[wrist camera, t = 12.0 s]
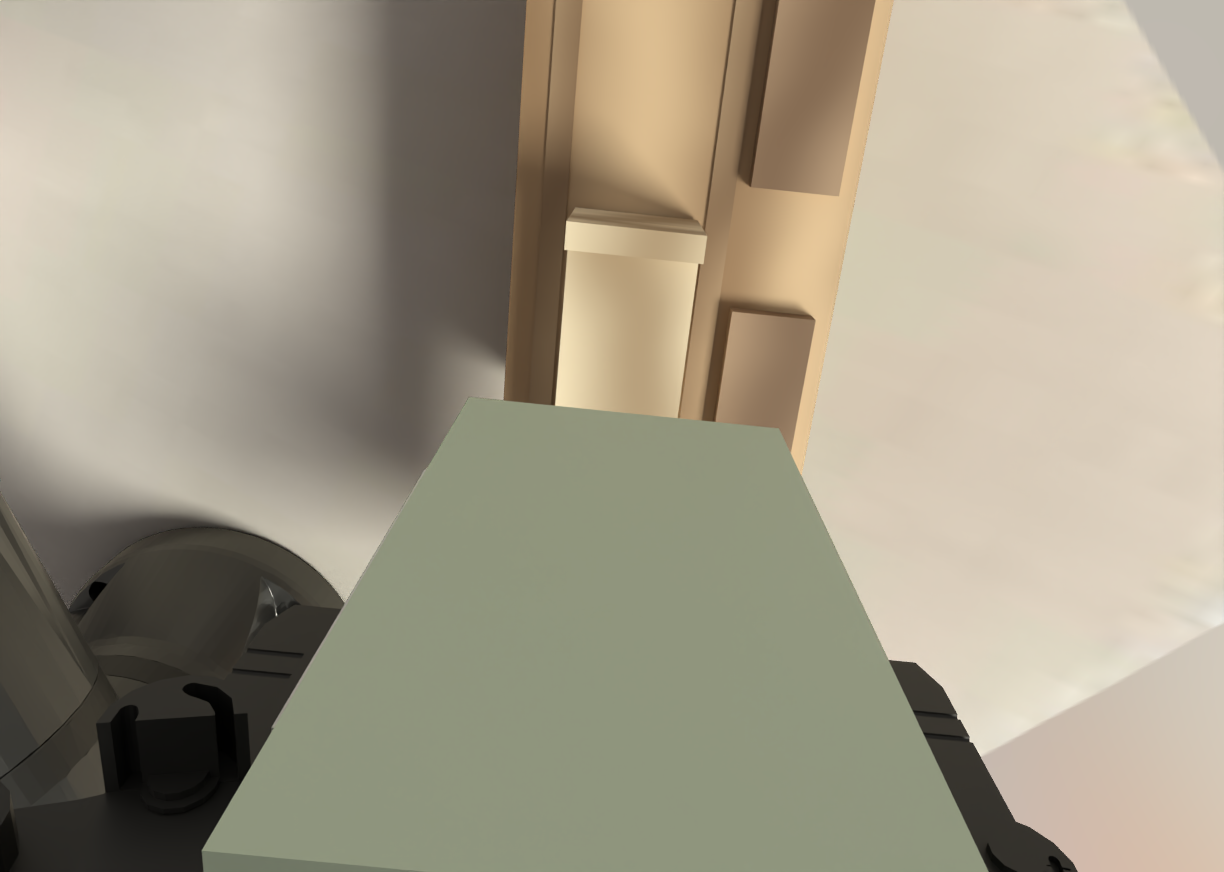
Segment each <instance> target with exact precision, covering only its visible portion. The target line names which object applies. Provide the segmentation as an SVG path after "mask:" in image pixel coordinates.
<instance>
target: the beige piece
mask: <svg viewBox="0 0 1224 872" xmlns="http://www.w3.org/2000/svg"><path fill="white" fill-rule="evenodd" d="M706 242H707V235H706V233H705V231H704V230H703V228H702V227H701V225H700V223H699V222H698V220H692V219H682V218H673V217H663V216H654V215H644V214H635V213H625V212H616V211H606V210H597V209H587V208H578V207H575V209H574V210H573V212H572V213H571V215H570V217H569V218H568V220H567V221H566V233H565V246H564V250H568V252H567V264H566V277H565V289H564V301H563V314H562V326H561V339H560V351H559V364H558V376H557V389H556V401H555V406H563V407H573V408H582V409H592V410H602V411H612V412H622V413H632V414H641V415H651V416H661V417H671V418H678V411H679V404H680V396H681V389H682V381H683V374H684V367H685V359H686V352H687V344H688V337H689V329H690V322H691V314H692V307H693V300H694V292H695V285H696V277H697V270H698V264H704V256H705V249H706Z"/></svg>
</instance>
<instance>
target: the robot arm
mask: <svg viewBox="0 0 1224 872" xmlns="http://www.w3.org/2000/svg"><path fill="white" fill-rule="evenodd" d="M425 471H426V468H425V469H424V471H423V473H422V475H421V476H420V478H419V480H418V481H417V483H416V485H415V486H414V488H413V490H412V491H411V493H410V495H409V496H408V498H407V500H406V501H405V503H404V505H403V507H402V508H401V510H400V512H399V513H398V515H397V517H396V518H395V520H394V522H393V523H392V525H391V527H390V528H389V530H388V532H387V533H386V535H385V537H384V539H383V540H382V542H381V544H380V545H379V547H378V549H377V550H376V552H375V554H374V555H373V557H372V559H371V560H370V562H369V564H368V565H367V567H366V569H365V571H364V572H363V574H362V576H361V577H360V579H359V581H358V582H357V584H356V586H355V587H354V589H353V591H352V592H351V594H350V596H349V597H348V599H347V601H346V603H345V604H344V602H343V601H342V599H341V598H340V597H339V595H338V594H337V593H336V592H335V590H334V589H333V588H332V587H331V586H330V585H329V583H328V582H327V581H326V580H325V579H324V578H323V577H322V576H321V575H320V574H318V573H317V572H316V571H315V570H314V569H313V568H311V567H310V566H309V565H308V564H306V563H305V562H304V561H302V560H301V559H299V558H298V557H296V556H295V555H293V554H292V553H290V552H288V551H286V550H284V549H283V548H281V547H279V546H277V545H275V544H272V543H270V542H268V541H265V540H263V539H260V538H257V537H254V536H251V535H248V534H244V533H241V532H236V531H231V530H226V529H218V528H182V529H175V530H170V531H165V532H162V533H158V534H155V535H152V536H149V537H147V538H144V539H142V540H140V541H138V542H136V543H134V544H133V545H131V546H129V547H128V548H126V549H125V550H123V551H122V552H121V553H119V554H118V555H117V556H116V557H115V558H113V559H112V560H111V561H110V562H109V563H108V564H106V565H105V566H104V567H103V568H102V569H101V570H99V571H98V572H97V573H96V574H95V575H94V576H93V577H92V578H91V579H90V580H89V581H88V582H87V583H86V584H85V585H84V587H83V588H82V589H81V590H80V592H79V593H78V594H77V596H76V597H75V599H74V600H73V602H72V604H71V606H70V608H69V610H68V609H67V607H66V605H65V603H64V602H63V600H62V598H61V596H60V595H59V593H58V591H57V589H56V588H55V586H54V584H53V582H52V581H51V579H50V577H49V575H48V574H47V572H46V570H45V569H44V567H43V565H42V563H41V562H40V560H39V558H38V556H37V555H36V553H35V551H34V549H33V548H32V546H31V544H30V542H29V541H28V539H27V537H26V535H25V534H24V532H23V530H22V529H21V527H20V525H19V523H18V522H17V520H16V518H15V516H14V515H13V513H12V511H11V509H10V508H9V506H8V504H7V502H6V501H5V499H4V497H3V495H2V494H1V492H0V872H204V871H203V860H202V849H203V847H204V846H205V844H206V842H207V841H208V839H209V837H210V836H211V834H212V832H213V830H214V829H215V827H216V825H217V824H218V822H219V820H220V819H221V817H222V815H223V814H224V812H225V810H226V808H227V807H228V805H229V803H230V802H231V800H232V798H233V797H234V795H235V793H236V791H237V790H238V788H239V786H240V785H241V783H242V781H243V780H244V778H245V776H246V774H247V773H248V771H249V769H250V768H251V766H252V764H253V763H254V761H255V759H256V758H257V756H258V754H259V752H260V751H261V749H262V747H263V746H264V744H265V742H266V741H267V739H268V737H269V735H270V734H271V732H272V730H273V729H274V727H275V725H276V724H277V722H278V720H279V719H280V717H281V715H282V713H283V712H284V710H285V708H286V707H287V705H288V703H289V702H290V700H291V698H292V696H293V695H294V693H295V691H296V690H297V688H298V686H299V685H300V683H301V681H302V680H303V678H304V676H305V674H306V673H307V671H308V669H309V668H310V666H311V664H312V663H313V661H314V659H315V657H316V656H317V654H318V652H319V651H320V649H321V647H322V646H323V644H324V642H325V641H326V639H327V637H328V635H329V634H330V632H331V630H332V629H333V627H334V625H335V624H336V622H337V620H338V618H339V617H340V615H341V613H342V612H343V610H344V608H345V607H346V605H347V603H348V601H349V600H350V598H351V596H352V595H353V593H354V591H355V590H356V588H357V586H358V585H359V583H360V581H361V579H362V578H363V576H364V574H365V573H366V571H367V569H368V568H369V566H370V564H371V562H372V561H373V559H374V557H375V556H376V554H377V552H378V551H379V549H380V547H381V546H382V544H383V542H384V540H385V539H386V537H387V535H388V534H389V532H390V530H391V529H392V527H393V525H394V523H395V522H396V520H397V518H398V517H399V515H400V513H401V512H402V510H403V508H404V507H405V505H406V503H407V501H408V500H409V498H410V496H411V495H412V493H413V491H414V490H415V488H416V486H417V484H418V483H419V481H420V479H421V478H422V476H423V474H424V473H425ZM0 481H1V480H0ZM889 662H890V664H891V667H892V669H893V671H894V673H895V675H896V677H897V679H898V681H899V683H900V686H901V688H902V690H903V692H904V694H905V696H906V698H907V700H908V702H909V705H910V707H911V709H912V711H913V713H914V715H915V717H916V719H917V722H918V724H919V726H920V728H921V730H922V732H923V734H924V736H925V738H926V741H927V743H928V745H929V747H930V749H931V751H932V753H933V755H934V757H935V760H936V762H937V764H938V766H939V768H940V770H941V772H942V774H943V776H944V779H945V781H946V783H947V785H948V787H949V789H950V791H951V793H952V796H953V798H954V800H955V802H956V804H957V806H958V808H959V810H960V812H961V815H962V817H963V819H964V821H965V823H966V825H967V827H968V829H969V831H970V834H971V836H972V838H973V840H974V842H975V844H976V846H977V848H978V851H979V853H980V855H981V857H982V859H983V861H984V863H985V865H986V867H987V870H988V872H1077V870H1076V868H1075V866H1074V864H1073V862H1071V860H1070V859H1069V858H1068V857H1067V856H1066V855H1065V854H1064V853H1063V852H1062V851H1061V850H1060V849H1059V848H1058V847H1057V846H1056V845H1055V844H1054V843H1053V842H1051V841H1050V840H1048V839H1047V838H1045V837H1043V836H1042V835H1040V834H1039V833H1038V832H1036V831H1034V830H1033V829H1031V828H1030V827H1028V826H1025V825H1023V824H1020V823H1018V822H1016V821H1015V820H1014V818H1013V816H1012V814H1011V812H1010V810H1009V809H1008V807H1007V805H1006V803H1005V801H1004V799H1003V798H1002V796H1001V794H1000V792H999V790H998V788H997V787H996V785H995V783H994V781H993V779H992V777H991V776H990V774H989V772H988V770H987V768H986V766H985V764H984V763H983V761H982V759H981V757H980V755H979V753H978V752H977V750H976V748H975V746H974V744H973V743H971V742H969V735H968V733H967V731H966V730H965V728H964V726H963V724H962V722H961V720H957V713H956V711H955V709H954V707H953V706H952V704H951V702H950V700H949V698H948V696H947V695H946V693H945V691H944V689H943V687H942V686H940V685H939V684H938V683H937V682H936V681H935V680H934V679H933V678H932V677H930V676H929V675H928V674H927V673H926V672H925V671H924V670H923V669H922V668H921V667H919V666H918V665H917V664H916V663H912V662H902V661H892V660H889Z"/></svg>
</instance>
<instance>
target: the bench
mask: <svg viewBox="0 0 1224 872" xmlns="http://www.w3.org/2000/svg"><path fill="white" fill-rule="evenodd" d="M893 1H894V0H527V2H526V19H525V37H524V54H523V72H522V89H521V106H520V124H519V141H518V159H517V176H516V194H515V211H514V228H513V246H512V263H511V281H510V298H509V316H508V333H507V350H506V368H505V385H504V401H513V402H523V403H533V404H543V405H553V406H555V401H556V389H557V376H558V364H559V351H560V339H561V326H562V314H563V301H564V289H565V277H566V264H567V252H568V250H564V246H565V233H566V221H567V220H568V218H569V217H570V215H571V213H572V212H573V210H574V209H575V207H578V208H587V209H597V210H606V211H616V212H625V213H635V214H644V215H654V216H663V217H673V218H682V219H692V220H698V222H699V223H700V225H701V227H702V228H703V230H704V231H705V233H706V235H707V242H706V249H705V256H704V264H698V270H697V277H696V285H695V292H694V300H693V307H692V314H691V322H690V329H689V337H688V344H687V352H686V359H685V367H684V374H683V381H682V389H681V396H680V404H679V411H678V418H681V419H691V420H700V421H710V422H720V423H730V424H740V425H750V426H760V427H769V428H779V430H780V432H781V434H782V436H783V438H784V440H785V442H786V444H787V447H788V449H789V451H790V453H791V455H792V457H793V459H794V461H795V464H796V466H797V468H798V470H799V472H800V474H801V475H802V470H803V465H804V460H805V455H806V449H807V444H808V439H809V434H810V429H811V424H812V418H813V413H814V408H815V403H816V398H817V393H818V387H819V382H820V377H821V372H822V367H823V362H824V357H825V351H826V346H827V341H828V336H829V331H830V326H831V320H832V315H833V310H834V305H835V300H836V295H837V289H838V284H839V279H840V274H841V269H842V264H843V259H844V253H845V248H846V243H847V238H848V233H849V228H850V222H851V217H852V212H853V207H854V202H855V197H856V191H857V186H858V181H859V176H860V171H861V166H862V161H863V155H864V150H865V145H866V140H867V135H868V130H869V124H870V119H871V114H872V109H873V104H874V99H875V93H876V88H877V83H878V78H879V73H880V68H881V63H882V57H883V52H884V47H885V42H886V37H887V32H888V26H889V21H890V16H891V11H892V6H893Z"/></svg>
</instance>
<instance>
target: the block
mask: <svg viewBox="0 0 1224 872" xmlns="http://www.w3.org/2000/svg"><path fill="white" fill-rule="evenodd" d="M202 860H203V871H204V872H988V870H987V867H986V865H985V863H984V861H983V859H982V857H981V855H980V853H979V851H978V848H977V846H976V844H975V842H974V840H973V838H972V836H971V834H970V831H969V829H968V827H967V825H966V823H965V821H964V819H963V817H962V815H961V812H960V810H959V808H958V806H957V804H956V802H955V800H954V798H953V796H952V793H951V791H950V789H949V787H948V785H947V783H946V781H945V779H944V776H943V774H942V772H941V770H940V768H939V766H938V764H937V762H936V760H935V757H934V755H933V753H932V751H931V749H930V747H929V745H928V743H927V741H926V738H925V736H924V734H923V732H922V730H921V728H920V726H919V724H918V722H917V719H916V717H915V715H914V713H913V711H912V709H911V707H910V705H909V702H908V700H907V698H906V696H905V694H904V692H903V690H902V688H901V686H900V683H899V681H898V679H897V677H896V675H895V673H894V671H893V669H892V667H891V664H890V662H889V660H888V658H887V656H886V654H885V652H884V650H883V647H882V645H881V643H880V641H879V639H878V637H877V635H876V633H875V631H874V628H873V626H872V624H871V622H870V620H869V618H868V616H867V614H866V612H865V609H864V607H863V605H862V603H861V601H860V599H859V597H858V595H857V593H856V590H855V588H854V586H853V584H852V582H851V580H850V578H849V576H848V573H847V571H846V569H845V567H844V565H843V563H842V561H841V559H840V557H839V554H838V552H837V550H836V548H835V546H834V544H833V542H832V540H831V538H830V535H829V533H828V531H827V529H826V527H825V525H824V523H823V521H822V519H821V516H820V514H819V512H818V510H817V508H816V506H815V504H814V502H813V499H812V497H811V495H810V493H809V491H808V489H807V487H806V485H805V483H804V480H803V478H802V476H801V474H800V472H799V470H798V468H797V466H796V464H795V461H794V459H793V457H792V455H791V453H790V451H789V449H788V447H787V444H786V442H785V440H784V438H783V436H782V434H781V432H780V430H779V428H769V427H760V426H750V425H740V424H730V423H720V422H710V421H700V420H691V419H681V418H671V417H661V416H651V415H641V414H632V413H622V412H612V411H602V410H592V409H582V408H573V407H563V406H553V405H543V404H533V403H523V402H513V401H504V400H494V399H484V398H474V397H469V398H468V400H467V401H466V403H465V405H464V406H463V408H462V410H461V412H460V413H459V415H458V417H457V418H456V420H455V422H454V423H453V425H452V427H451V429H450V430H449V432H448V434H447V435H446V437H445V439H444V440H443V442H442V444H441V445H440V447H439V449H438V451H437V452H436V454H435V456H434V457H433V459H432V461H431V462H430V464H429V466H428V468H427V469H426V471H425V473H424V474H423V476H422V478H421V479H420V481H419V483H418V484H417V486H416V488H415V490H414V491H413V493H412V495H411V496H410V498H409V500H408V501H407V503H406V505H405V507H404V508H403V510H402V512H401V513H400V515H399V517H398V518H397V520H396V522H395V523H394V525H393V527H392V529H391V530H390V532H389V534H388V535H387V537H386V539H385V540H384V542H383V544H382V546H381V547H380V549H379V551H378V552H377V554H376V556H375V557H374V559H373V561H372V562H371V564H370V566H369V568H368V569H367V571H366V573H365V574H364V576H363V578H362V579H361V581H360V583H359V585H358V586H357V588H356V590H355V591H354V593H353V595H352V596H351V598H350V600H349V601H348V603H347V605H346V607H345V608H344V610H343V612H342V613H341V615H340V617H339V618H338V620H337V622H336V624H335V625H334V627H333V629H332V630H331V632H330V634H329V635H328V637H327V639H326V641H325V642H324V644H323V646H322V647H321V649H320V651H319V652H318V654H317V656H316V657H315V659H314V661H313V663H312V664H311V666H310V668H309V669H308V671H307V673H306V674H305V676H304V678H303V680H302V681H301V683H300V685H299V686H298V688H297V690H296V691H295V693H294V695H293V696H292V698H291V700H290V702H289V703H288V705H287V707H286V708H285V710H284V712H283V713H282V715H281V717H280V719H279V720H278V722H277V724H276V725H275V727H274V729H273V730H272V732H271V734H270V735H269V737H268V739H267V741H266V742H265V744H264V746H263V747H262V749H261V751H260V752H259V754H258V756H257V758H256V759H255V761H254V763H253V764H252V766H251V768H250V769H249V771H248V773H247V774H246V776H245V778H244V780H243V781H242V783H241V785H240V786H239V788H238V790H237V791H236V793H235V795H234V797H233V798H232V800H231V802H230V803H229V805H228V807H227V808H226V810H225V812H224V814H223V815H222V817H221V819H220V820H219V822H218V824H217V825H216V827H215V829H214V830H213V832H212V834H211V836H210V837H209V839H208V841H207V842H206V844H205V846H204V847H203V849H202Z"/></svg>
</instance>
